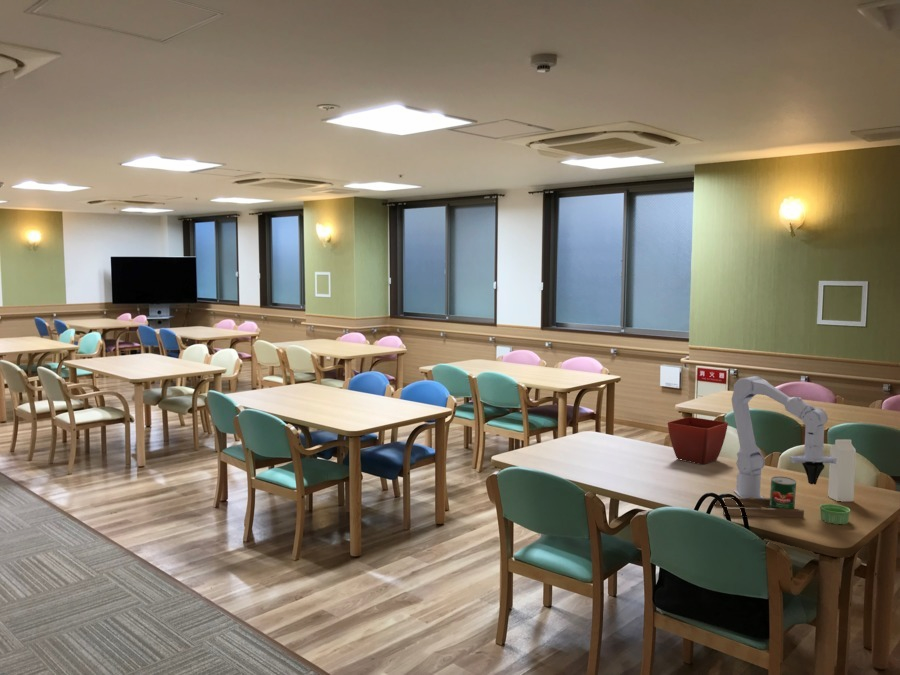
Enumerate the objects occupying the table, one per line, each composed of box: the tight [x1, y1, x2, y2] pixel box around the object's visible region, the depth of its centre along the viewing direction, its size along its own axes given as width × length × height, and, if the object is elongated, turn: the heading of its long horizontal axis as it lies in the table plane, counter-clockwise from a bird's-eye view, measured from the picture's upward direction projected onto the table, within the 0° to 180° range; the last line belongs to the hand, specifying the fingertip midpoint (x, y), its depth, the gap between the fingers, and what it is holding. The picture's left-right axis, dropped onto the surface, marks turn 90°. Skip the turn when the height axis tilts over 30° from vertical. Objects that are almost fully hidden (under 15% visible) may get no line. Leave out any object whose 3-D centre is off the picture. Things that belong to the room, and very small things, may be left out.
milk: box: [827, 438, 857, 502], centre depth 261 cm, size 6×6×22 cm
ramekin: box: [819, 503, 851, 525], centre depth 239 cm, size 9×9×4 cm
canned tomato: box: [769, 475, 797, 509], centre depth 247 cm, size 8×8×11 cm
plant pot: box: [667, 416, 729, 465], centre depth 316 cm, size 19×19×17 cm
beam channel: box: [714, 497, 805, 518], centre depth 249 cm, size 13×26×3 cm, turn 86°
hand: (812, 483), depth 247 cm, fingers closed
